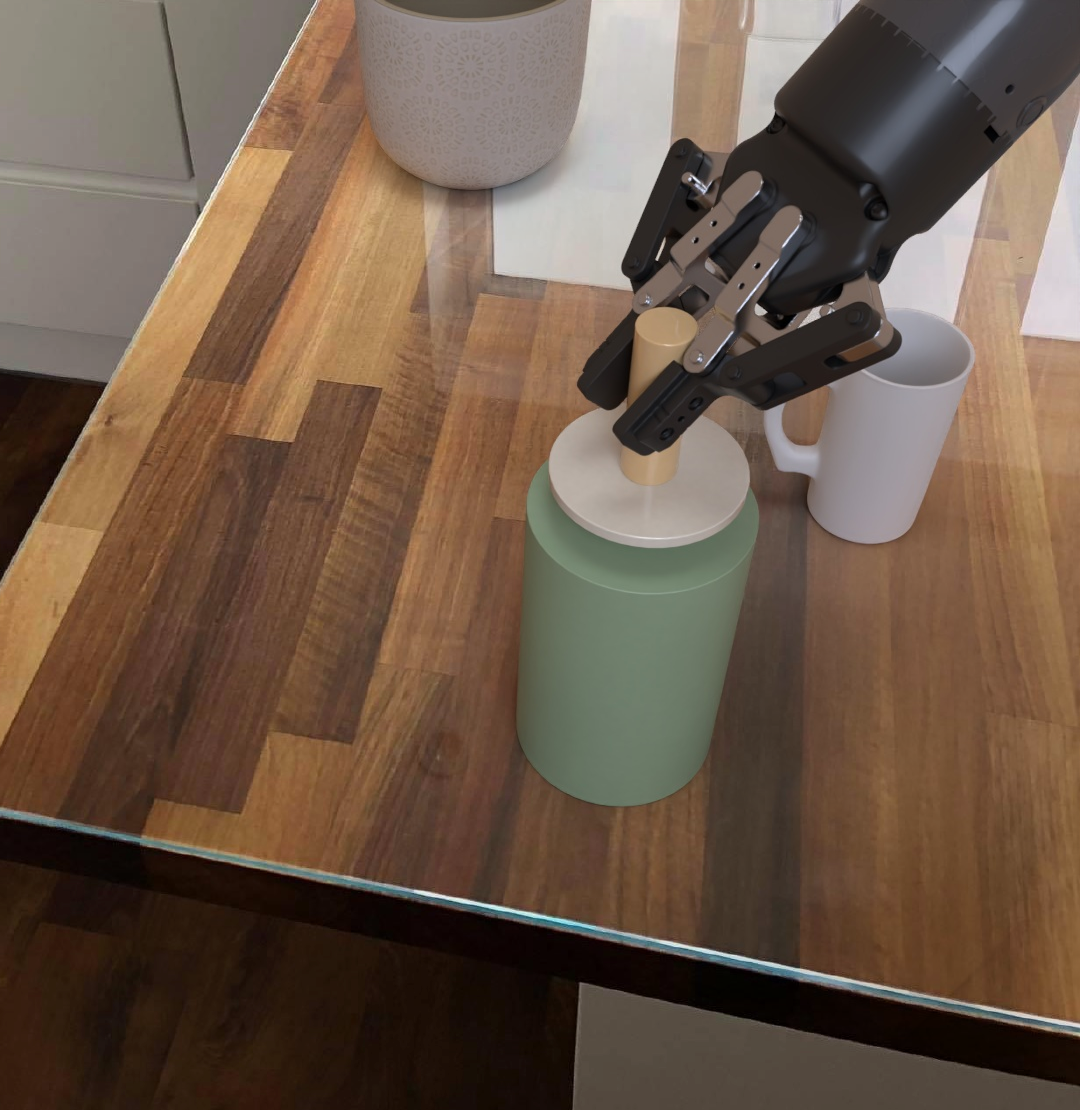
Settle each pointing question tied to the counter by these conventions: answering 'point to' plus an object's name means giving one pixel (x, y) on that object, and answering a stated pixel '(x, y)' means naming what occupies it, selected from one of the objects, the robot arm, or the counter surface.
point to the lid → (649, 459)
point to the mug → (881, 432)
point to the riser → (623, 652)
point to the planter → (472, 84)
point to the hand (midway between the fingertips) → (611, 420)
